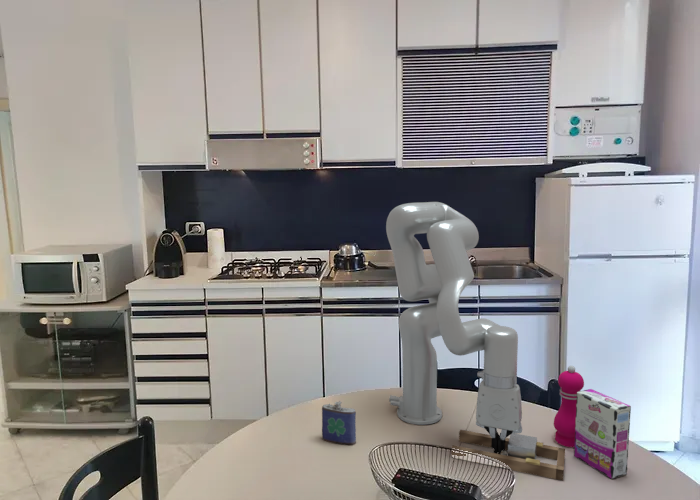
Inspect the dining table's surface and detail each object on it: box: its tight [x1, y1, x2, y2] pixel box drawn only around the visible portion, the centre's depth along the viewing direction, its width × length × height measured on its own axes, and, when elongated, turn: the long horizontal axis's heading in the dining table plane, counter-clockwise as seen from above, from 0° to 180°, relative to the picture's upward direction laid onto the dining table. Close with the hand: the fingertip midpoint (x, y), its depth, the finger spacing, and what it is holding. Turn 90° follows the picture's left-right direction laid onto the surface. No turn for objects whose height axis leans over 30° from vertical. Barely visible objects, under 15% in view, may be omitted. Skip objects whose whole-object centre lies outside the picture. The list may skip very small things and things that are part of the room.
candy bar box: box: [573, 388, 632, 480], centre depth 121 cm, size 11×5×16 cm, turn 23°
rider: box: [507, 433, 538, 460], centre depth 124 cm, size 6×6×5 cm
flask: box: [321, 400, 357, 446], centre depth 134 cm, size 9×3×11 cm, turn 68°
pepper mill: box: [553, 365, 585, 448], centre depth 132 cm, size 7×7×20 cm
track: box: [450, 429, 566, 481], centre depth 125 cm, size 25×10×3 cm, turn 66°
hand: (498, 451), depth 126 cm, fingers closed
